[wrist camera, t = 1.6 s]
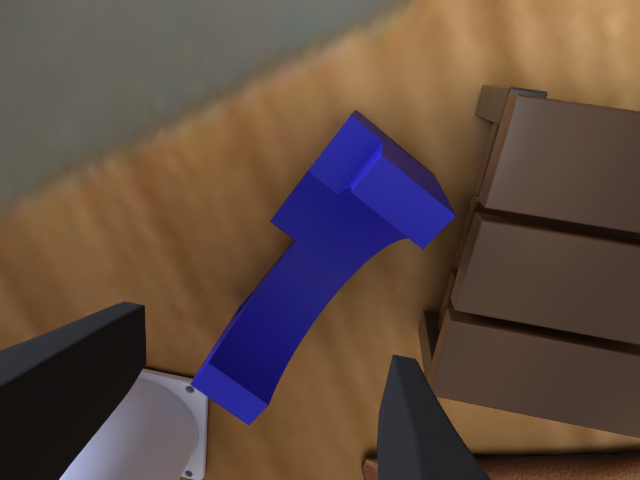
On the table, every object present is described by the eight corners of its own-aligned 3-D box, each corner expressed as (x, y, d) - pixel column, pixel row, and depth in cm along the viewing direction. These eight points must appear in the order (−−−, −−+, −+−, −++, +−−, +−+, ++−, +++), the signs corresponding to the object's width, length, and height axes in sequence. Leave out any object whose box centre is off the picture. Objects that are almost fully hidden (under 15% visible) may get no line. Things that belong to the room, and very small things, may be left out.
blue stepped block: (355, 109, 18) (343, 123, 12) (434, 174, 18) (456, 215, 13) (215, 293, 22) (159, 363, 17) (281, 341, 23) (248, 425, 17)
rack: (418, 330, 21) (430, 422, 16) (482, 84, 17) (532, 87, 11) (619, 368, 21) (710, 480, 15) (743, 121, 16) (943, 145, 10)
